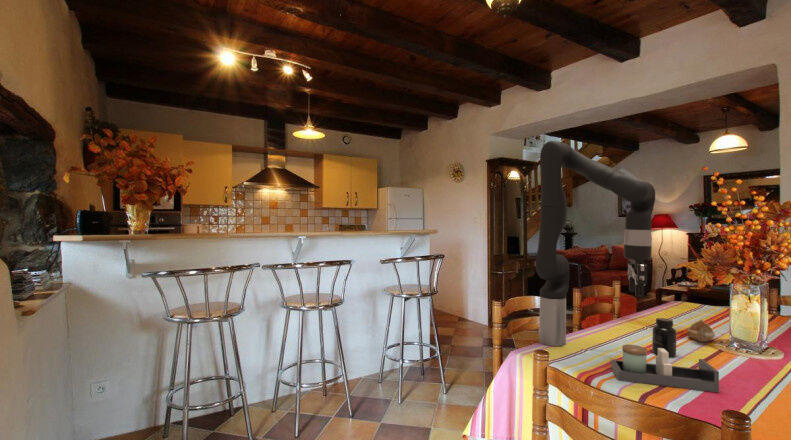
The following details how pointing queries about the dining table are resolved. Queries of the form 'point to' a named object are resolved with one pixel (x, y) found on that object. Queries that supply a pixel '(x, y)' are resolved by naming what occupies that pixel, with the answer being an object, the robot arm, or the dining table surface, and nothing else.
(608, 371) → the dining table surface
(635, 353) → the jar
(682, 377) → the tray
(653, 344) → the supplement bottle
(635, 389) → the dining table surface
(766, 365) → the dining table surface
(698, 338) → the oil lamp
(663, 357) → the block
